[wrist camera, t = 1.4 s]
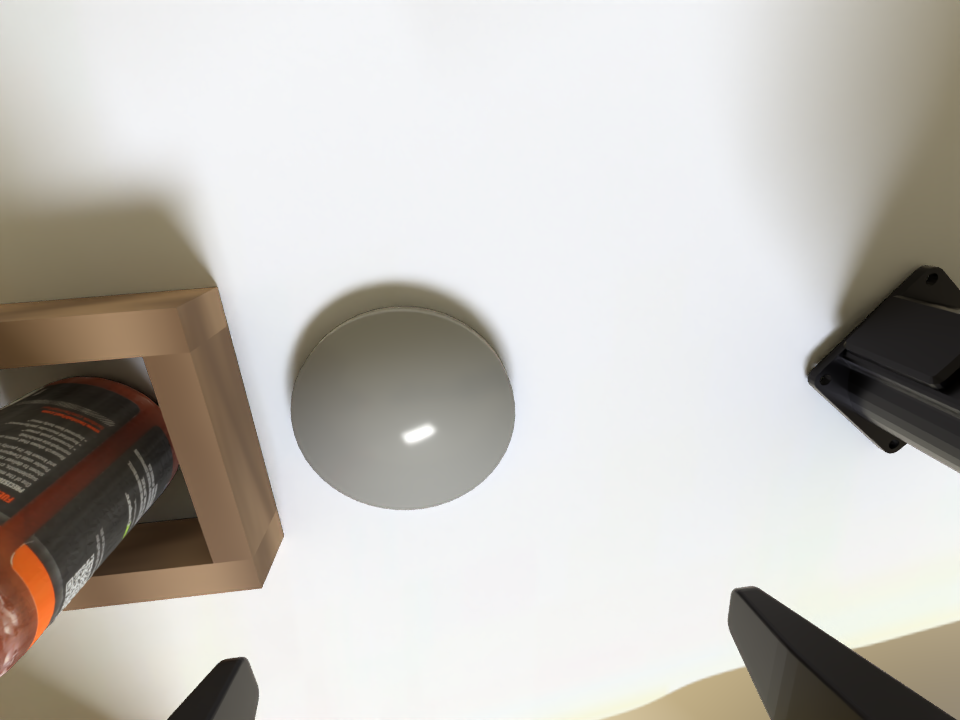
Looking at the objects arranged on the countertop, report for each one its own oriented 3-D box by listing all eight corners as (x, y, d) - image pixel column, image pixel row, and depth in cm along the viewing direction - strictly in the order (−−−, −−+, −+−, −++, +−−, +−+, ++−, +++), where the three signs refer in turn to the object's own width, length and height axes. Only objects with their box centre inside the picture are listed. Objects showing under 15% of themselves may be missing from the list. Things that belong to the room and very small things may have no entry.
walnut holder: (217, 287, 18) (176, 307, 15) (284, 536, 22) (261, 588, 19) (-115, 313, 17) (-222, 340, 14) (19, 564, 21) (-44, 623, 19)
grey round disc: (555, 388, 20) (559, 396, 20) (430, 529, 23) (429, 542, 22) (377, 259, 18) (374, 262, 17) (255, 431, 20) (247, 441, 19)
